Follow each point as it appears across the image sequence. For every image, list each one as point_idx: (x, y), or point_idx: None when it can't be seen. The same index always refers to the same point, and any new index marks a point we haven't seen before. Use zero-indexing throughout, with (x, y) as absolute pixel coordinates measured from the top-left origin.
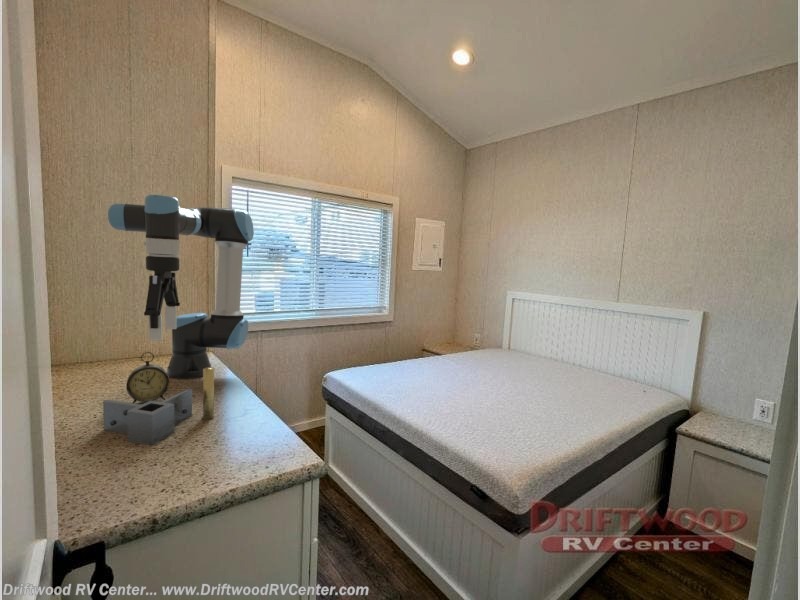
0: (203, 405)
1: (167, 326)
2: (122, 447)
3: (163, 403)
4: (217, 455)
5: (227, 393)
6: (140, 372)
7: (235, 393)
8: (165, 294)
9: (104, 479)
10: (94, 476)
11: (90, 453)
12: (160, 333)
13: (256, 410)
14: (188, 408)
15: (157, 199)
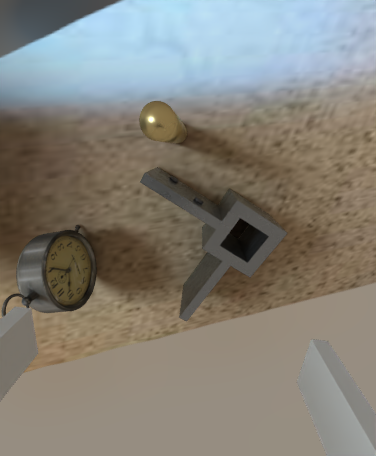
0: (179, 141)
1: (26, 358)
2: None
3: (227, 222)
4: (354, 99)
5: (38, 98)
6: (57, 298)
7: (38, 76)
8: None
9: (349, 253)
10: (334, 266)
11: (263, 286)
12: (352, 382)
13: (157, 11)
14: (163, 174)
15: None
